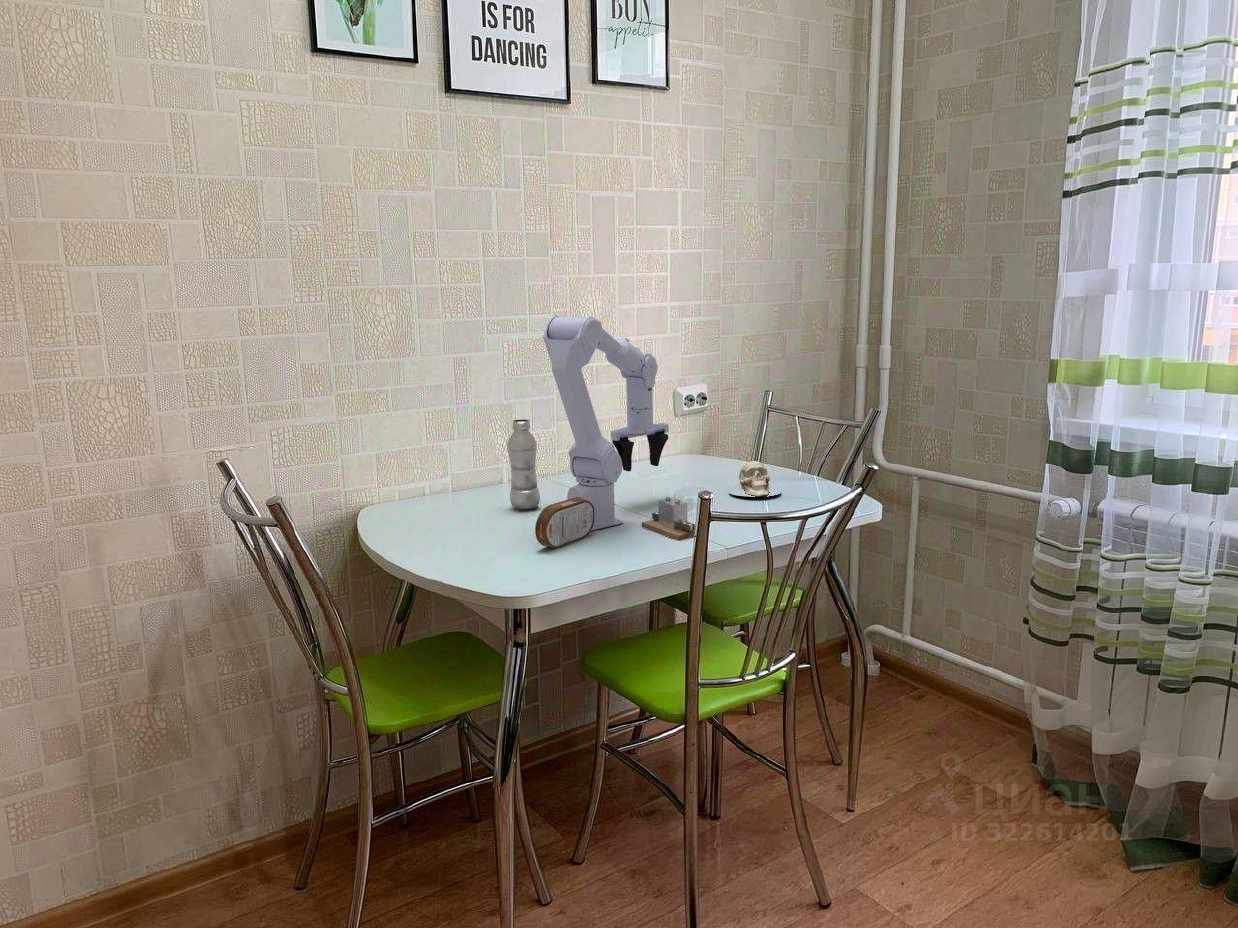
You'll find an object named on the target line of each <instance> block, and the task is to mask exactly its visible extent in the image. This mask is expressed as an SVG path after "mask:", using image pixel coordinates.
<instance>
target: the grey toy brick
mask: <svg viewBox="0 0 1238 928" xmlns="http://www.w3.org/2000/svg"><path fill="white" fill-rule="evenodd" d="M658 512H659V525H662V526H665V527H667V528H670V529H673V530H676V529H680V522H685V521H687V522H689V521H688V520H689V519H688V502H687V501H683V500H680V499H677V498H674V497H670V496H669V497H668V496H667V497H665V499H660V500H658Z"/></svg>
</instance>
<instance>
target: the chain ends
mask: <svg viewBox="0 0 1238 928" xmlns="http://www.w3.org/2000/svg"><path fill="white" fill-rule="evenodd" d="M653 519H654V520H658V521H659V511H655V512H652V513H651V520H653ZM695 526H696V524H695V523H692V522H689V521H688V522H687V521H685V522H680V528H681V529H682V530H684V531H685V530H686V531H687V532H693V530H695Z"/></svg>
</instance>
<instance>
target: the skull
mask: <svg viewBox="0 0 1238 928" xmlns="http://www.w3.org/2000/svg"><path fill="white" fill-rule="evenodd" d="M738 474H739V475H738V479H739V484H740V487H741V488H740V489H741V490H742V489H744V491H745V494H748V495H751V496H755V497H764V498H765V497H767V496H768V495H769V493H770V492H769V489H770V483H769V482H770V480H771V476H770V475H769V473H768V469H767V467H766V466H764V464H763V463H762V462H760V461H756V460H751V461H748V462H747V463H745V464H744V465H743V466H742V467H741V468H740V471H739V473H738Z"/></svg>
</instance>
